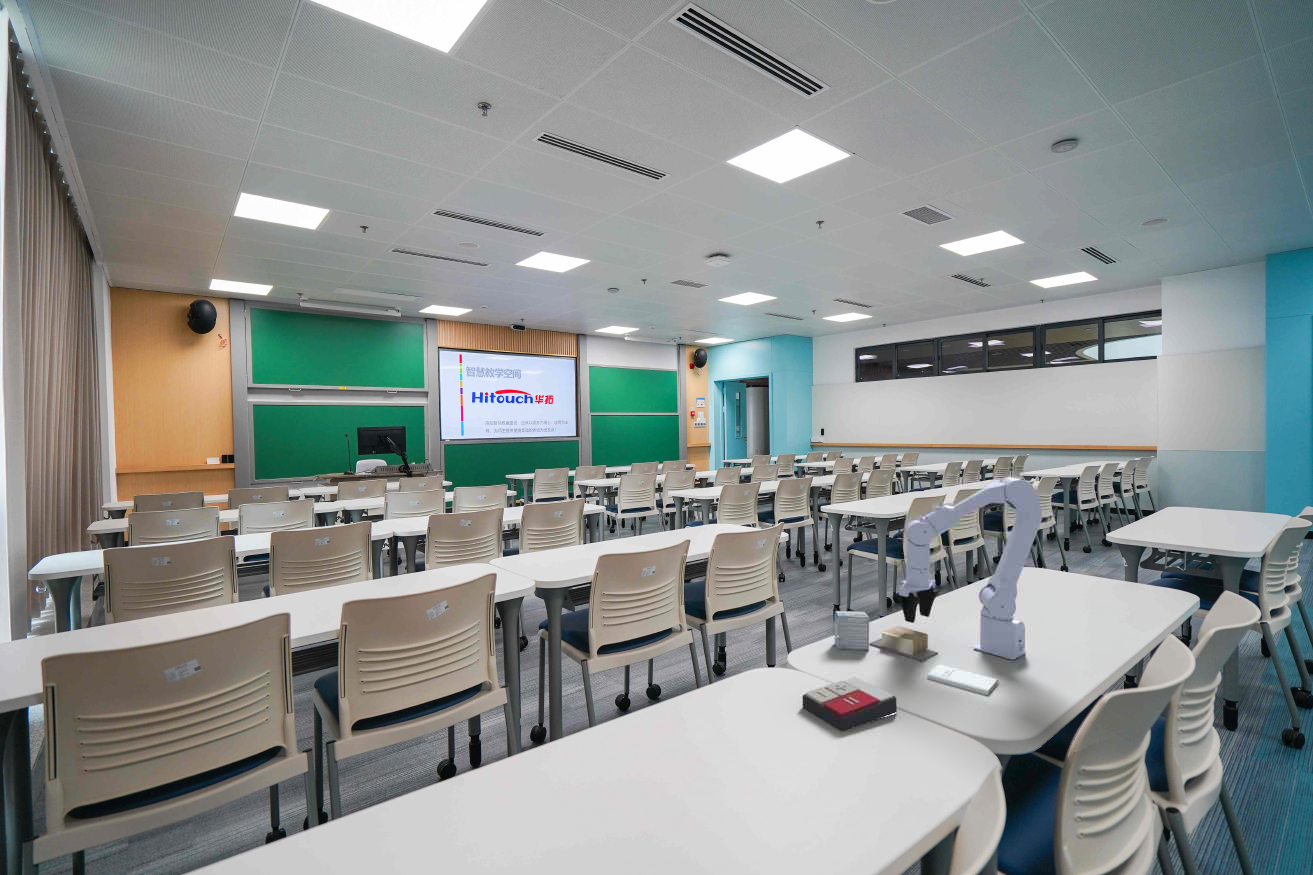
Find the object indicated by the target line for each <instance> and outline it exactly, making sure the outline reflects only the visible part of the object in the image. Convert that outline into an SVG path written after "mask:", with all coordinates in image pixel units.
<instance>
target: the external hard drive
mask: <svg viewBox="0 0 1313 875" xmlns="http://www.w3.org/2000/svg"><path fill="white" fill-rule="evenodd" d="M926 678H927V679H928V680H932V681H934V682H939V683H941V684H945V683H946V684H945V685H950V686H954V687H957V688H960V689H963V690H967V691H971V692H975V693H978V694H981V693H982V694H981V695H985V694H986V695H985V696H989V695H990V694H991V693H990V692H992V691H993V690H994V689H995V688H996V687H997V685H999V679H998V678H995V677H994V678H993V677H990V676H985V675H982V674H978V673H974V672H969V671H966V670H962V669H959V668H958V669H957V668H954V667H952V666H951V667H950V666H947V665H943V664H938V665H936V666H935V667H934V668H933V669H931V671H930V672H928V673H927V676H926Z"/></svg>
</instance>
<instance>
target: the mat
mask: <svg viewBox="0 0 1313 875" xmlns="http://www.w3.org/2000/svg"><path fill="white" fill-rule="evenodd" d="M869 646H873V647H876V648H879V649H881V650H885V651H888V652H892V653H895V654H898V655H900V656H904V657H906V658H909V659H913V660H916V661H919V662H924V661H926V660H928V659H930V658H932V657H934V656H936V655H938V654H939V653H938V651H935V650H931V649H929V648H926V649H924V650H922V651H920V652H918V653H915V654H913V655H909V654H906V653H902V652H899V651H896V650H893V649H890V648H887V647H884V646H882V637H880V638H879V639H876V640H875V641H872V642H869Z"/></svg>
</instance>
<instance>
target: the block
mask: <svg viewBox="0 0 1313 875" xmlns="http://www.w3.org/2000/svg"><path fill="white" fill-rule="evenodd" d="M881 638H882V646H884V647H887V648H890V649H893V650H896V651H899V652H902V653H906V654H909V655H913V654H915V653H918V652H920V651H922V650H924V649H929V648H928V646H929V644H928V643H929V634H928V633H926V632H921V631H918V630H914V629H912V628H911V629H910V628H907V627H904V626H900V625H898V626H895V627H892V628H889V629H887V630H884V631H882V632H881Z"/></svg>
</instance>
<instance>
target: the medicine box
mask: <svg viewBox="0 0 1313 875" xmlns="http://www.w3.org/2000/svg"><path fill="white" fill-rule="evenodd" d="M837 636H839V637H837ZM835 637H836V638H835ZM834 645H835V646H836V648H837V650H858V651H859V650H860V651H869V650H870V617H869V616H868V614H867V613H866V612H865V611H853V610H851V611H848V610H845V611H844V610H843V611H842V610H836V611H834Z"/></svg>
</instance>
